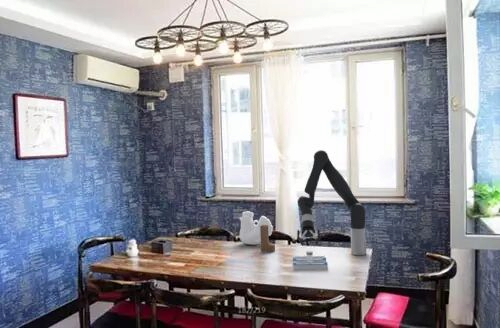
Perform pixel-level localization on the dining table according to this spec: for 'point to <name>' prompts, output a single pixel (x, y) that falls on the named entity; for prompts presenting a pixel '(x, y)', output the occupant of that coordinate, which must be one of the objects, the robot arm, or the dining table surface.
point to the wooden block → (266, 240)
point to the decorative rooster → (252, 228)
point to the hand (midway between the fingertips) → (309, 245)
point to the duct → (301, 263)
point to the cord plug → (309, 256)
